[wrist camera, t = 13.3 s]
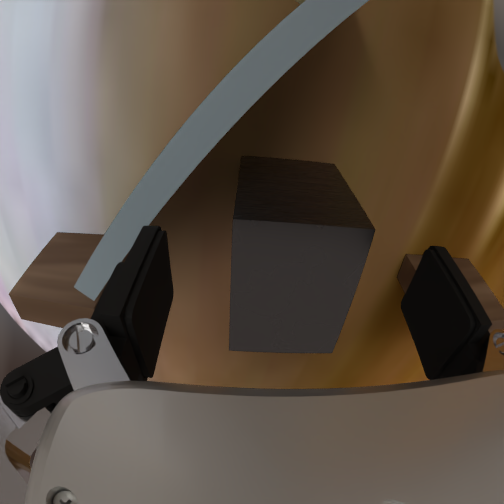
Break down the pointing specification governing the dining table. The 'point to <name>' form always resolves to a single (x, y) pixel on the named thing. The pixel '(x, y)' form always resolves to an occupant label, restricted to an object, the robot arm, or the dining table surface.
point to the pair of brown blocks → (83, 245)
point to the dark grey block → (294, 255)
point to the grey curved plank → (212, 128)
